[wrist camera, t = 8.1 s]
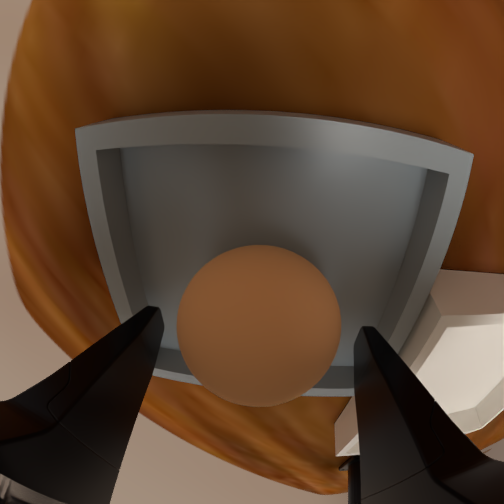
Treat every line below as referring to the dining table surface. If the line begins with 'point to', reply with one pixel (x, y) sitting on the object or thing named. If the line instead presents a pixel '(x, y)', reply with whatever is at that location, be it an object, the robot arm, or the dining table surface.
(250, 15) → the dining table surface
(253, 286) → the ball
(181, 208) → the tray
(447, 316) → the dish
